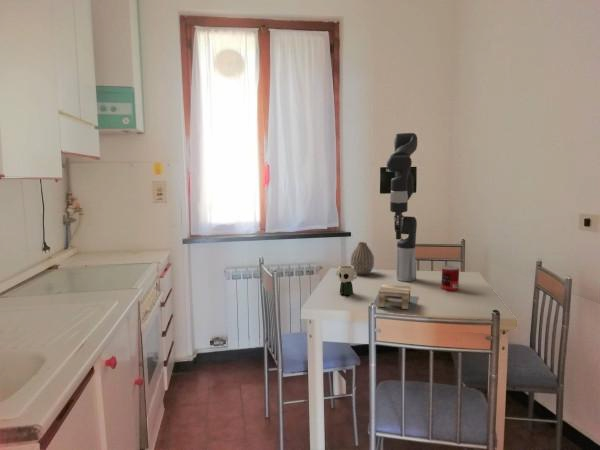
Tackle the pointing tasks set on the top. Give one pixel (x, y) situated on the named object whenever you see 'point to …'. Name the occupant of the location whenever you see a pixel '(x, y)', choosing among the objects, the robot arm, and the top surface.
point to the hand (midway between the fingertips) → (398, 239)
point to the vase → (362, 259)
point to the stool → (394, 295)
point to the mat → (399, 308)
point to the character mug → (346, 278)
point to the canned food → (450, 278)
